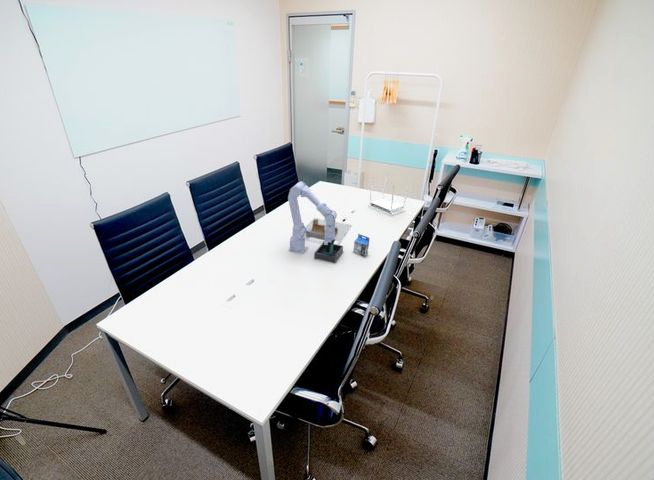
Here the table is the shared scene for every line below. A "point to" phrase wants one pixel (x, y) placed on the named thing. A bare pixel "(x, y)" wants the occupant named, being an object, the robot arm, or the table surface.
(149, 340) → the table surface
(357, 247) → the label tape box
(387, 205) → the router
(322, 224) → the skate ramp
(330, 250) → the bottle
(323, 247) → the bin
